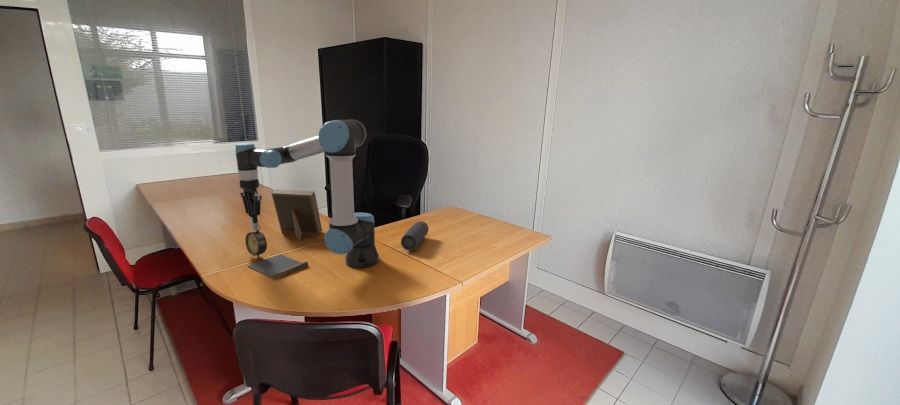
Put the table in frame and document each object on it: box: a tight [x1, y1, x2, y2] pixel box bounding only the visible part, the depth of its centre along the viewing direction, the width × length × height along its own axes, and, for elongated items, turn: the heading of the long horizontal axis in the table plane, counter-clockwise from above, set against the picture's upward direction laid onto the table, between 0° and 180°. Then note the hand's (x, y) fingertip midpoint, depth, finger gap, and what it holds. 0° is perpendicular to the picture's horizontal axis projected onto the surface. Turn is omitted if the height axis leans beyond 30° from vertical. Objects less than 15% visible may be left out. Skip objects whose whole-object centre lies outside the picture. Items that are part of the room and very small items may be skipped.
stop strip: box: [272, 260, 309, 280], centre depth 159 cm, size 2×16×2 cm, turn 147°
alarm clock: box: [245, 223, 268, 261], centre depth 170 cm, size 11×5×16 cm, turn 57°
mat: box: [247, 254, 302, 279], centre depth 165 cm, size 20×16×1 cm
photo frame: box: [270, 188, 323, 241], centre depth 199 cm, size 15×22×25 cm
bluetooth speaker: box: [400, 220, 430, 251], centre depth 193 cm, size 23×9×10 cm, turn 168°
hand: (254, 229), depth 169 cm, fingers closed
